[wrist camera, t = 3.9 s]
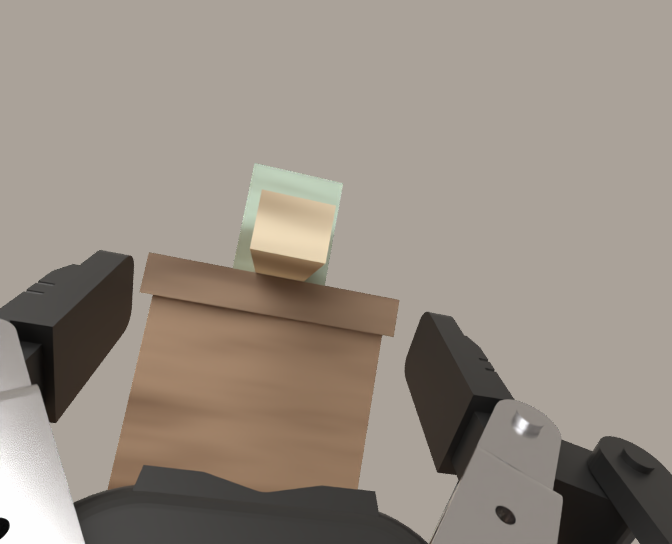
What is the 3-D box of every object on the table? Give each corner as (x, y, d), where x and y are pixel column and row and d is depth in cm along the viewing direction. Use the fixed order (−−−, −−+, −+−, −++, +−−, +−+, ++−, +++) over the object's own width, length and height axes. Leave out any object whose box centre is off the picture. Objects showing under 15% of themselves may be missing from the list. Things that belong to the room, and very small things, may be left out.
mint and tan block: (361, 270, 14) (390, 104, 15) (210, 240, 13) (248, 67, 14) (313, 291, 28) (329, 205, 28) (238, 277, 27) (256, 189, 28)
